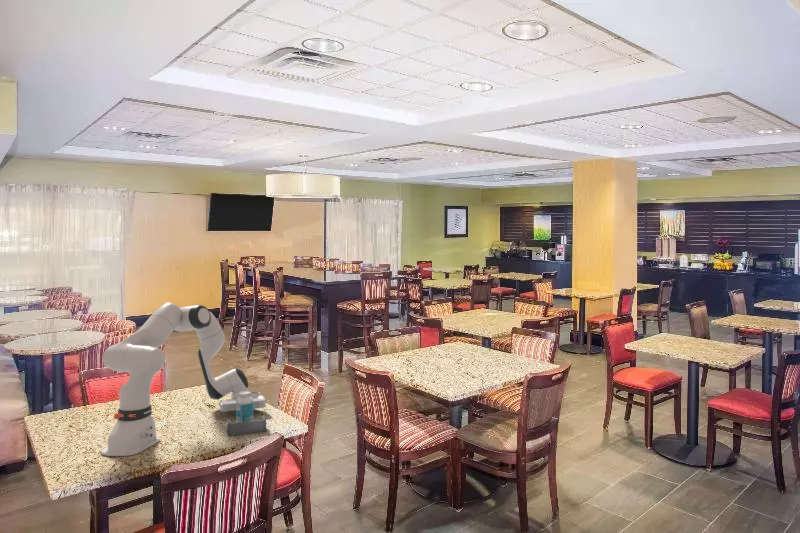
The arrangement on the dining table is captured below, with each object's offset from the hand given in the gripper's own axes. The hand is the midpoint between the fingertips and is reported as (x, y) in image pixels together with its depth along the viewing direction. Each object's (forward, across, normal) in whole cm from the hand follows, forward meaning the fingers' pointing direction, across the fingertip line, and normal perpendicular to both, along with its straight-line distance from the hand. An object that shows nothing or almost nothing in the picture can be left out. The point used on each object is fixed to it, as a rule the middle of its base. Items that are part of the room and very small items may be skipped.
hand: (244, 409), depth 250 cm
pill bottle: (+4, 0, +5) cm, 7 cm away
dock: (+15, 0, +5) cm, 16 cm away
